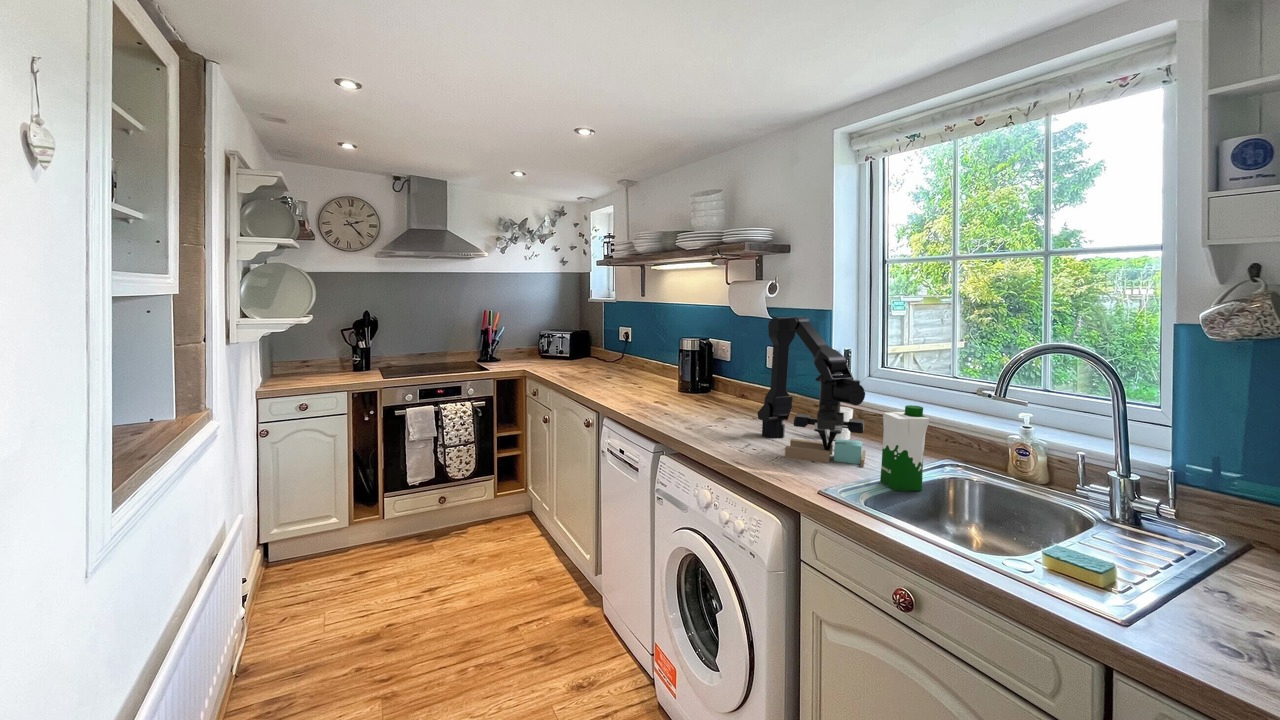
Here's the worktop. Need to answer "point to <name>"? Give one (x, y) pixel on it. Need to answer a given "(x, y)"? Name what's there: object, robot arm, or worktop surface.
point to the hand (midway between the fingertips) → (827, 452)
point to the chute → (811, 451)
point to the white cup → (847, 416)
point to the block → (848, 451)
